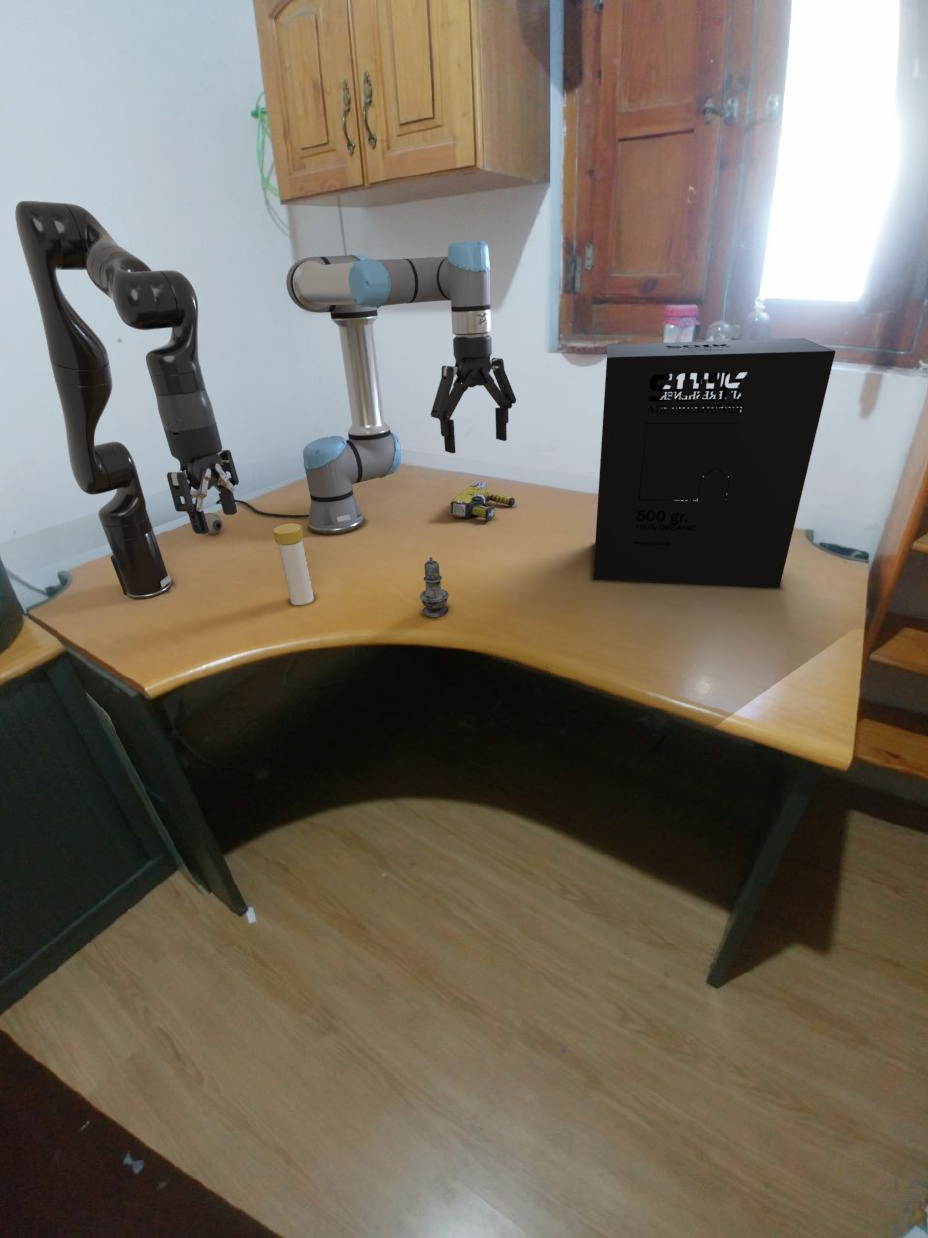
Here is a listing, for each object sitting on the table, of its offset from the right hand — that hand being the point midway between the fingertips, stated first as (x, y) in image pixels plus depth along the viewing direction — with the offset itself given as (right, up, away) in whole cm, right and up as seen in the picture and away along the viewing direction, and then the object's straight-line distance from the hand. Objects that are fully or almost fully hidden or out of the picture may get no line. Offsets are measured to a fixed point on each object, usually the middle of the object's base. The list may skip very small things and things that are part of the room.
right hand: (476, 445), depth 127 cm
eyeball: (-72, -13, +41) cm, 84 cm away
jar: (-38, -32, +4) cm, 50 cm away
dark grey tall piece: (-8, -35, -4) cm, 36 cm away
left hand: (-43, -21, -28) cm, 56 cm away
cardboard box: (+46, -24, +9) cm, 53 cm away
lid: (-39, -18, -4) cm, 43 cm away
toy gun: (+4, -4, +48) cm, 49 cm away
